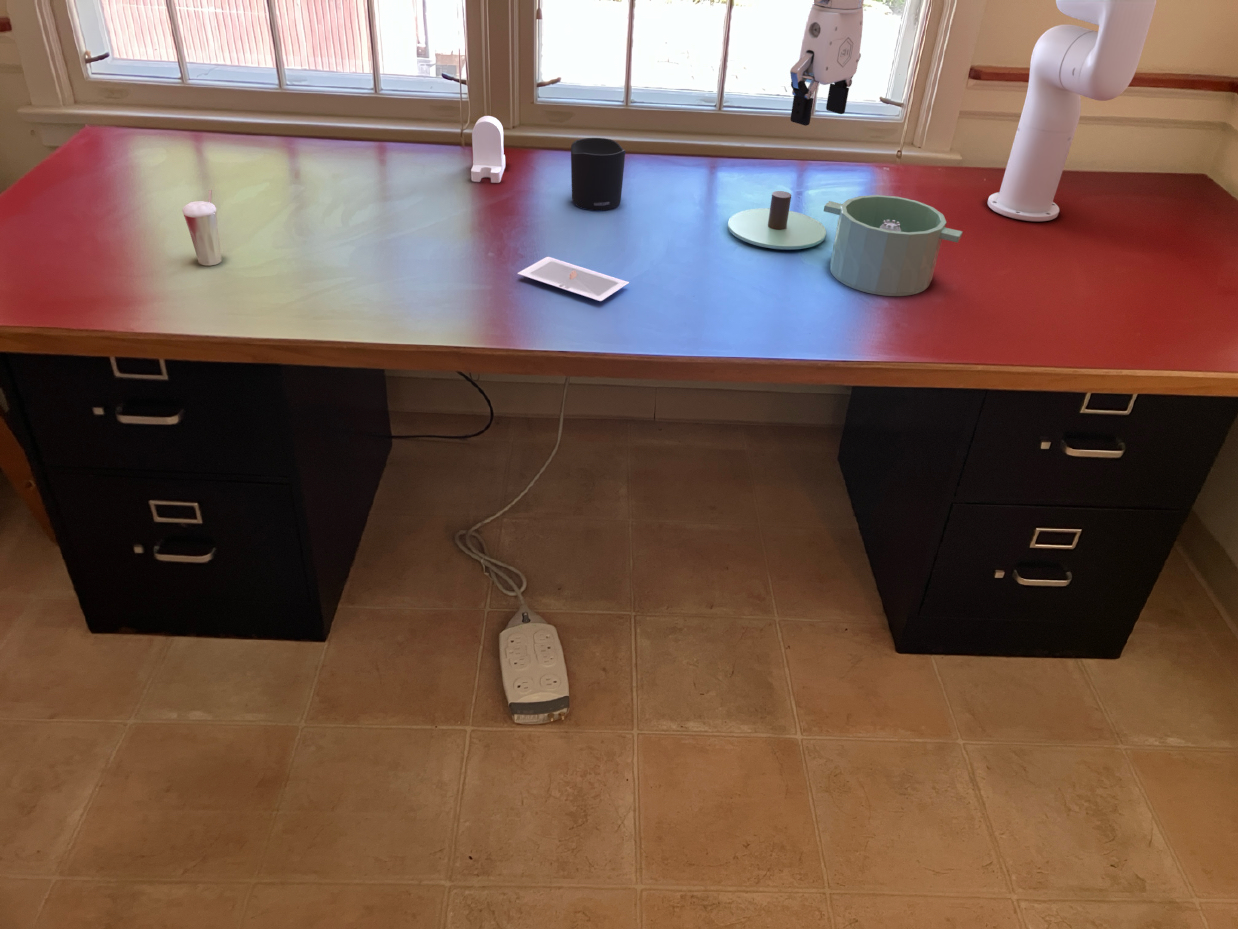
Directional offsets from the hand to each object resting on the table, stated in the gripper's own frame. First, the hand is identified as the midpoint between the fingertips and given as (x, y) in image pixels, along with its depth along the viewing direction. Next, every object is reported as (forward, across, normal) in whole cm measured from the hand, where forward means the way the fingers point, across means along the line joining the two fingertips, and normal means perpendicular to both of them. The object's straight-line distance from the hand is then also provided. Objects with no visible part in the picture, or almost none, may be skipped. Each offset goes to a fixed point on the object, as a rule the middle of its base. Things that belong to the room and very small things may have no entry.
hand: (817, 117), depth 151 cm
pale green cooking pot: (+20, -1, -16) cm, 26 cm away
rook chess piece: (+20, 0, -16) cm, 26 cm away
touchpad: (+21, -40, +13) cm, 47 cm away
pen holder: (+21, -13, +34) cm, 42 cm away
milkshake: (+21, -75, +54) cm, 95 cm away
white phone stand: (+21, -18, +58) cm, 64 cm away
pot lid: (+20, 0, +4) cm, 20 cm away
